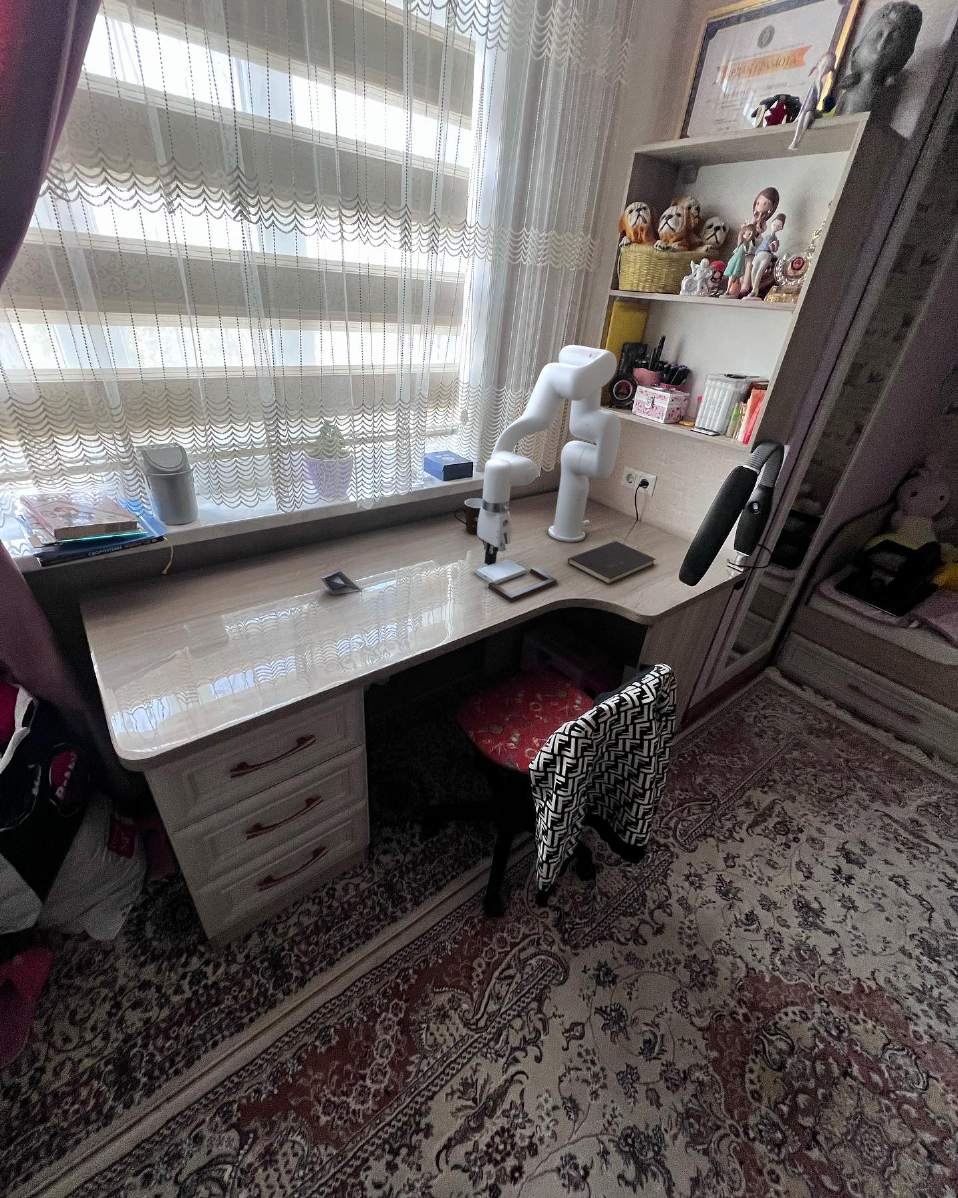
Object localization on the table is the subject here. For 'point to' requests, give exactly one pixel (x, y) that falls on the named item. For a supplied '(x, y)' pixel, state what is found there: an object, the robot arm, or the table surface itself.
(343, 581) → the paper boat
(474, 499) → the coffee mug
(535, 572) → the dark brown open frame
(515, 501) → the table surface
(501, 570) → the hard drive
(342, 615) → the table surface
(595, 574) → the hardcover book
